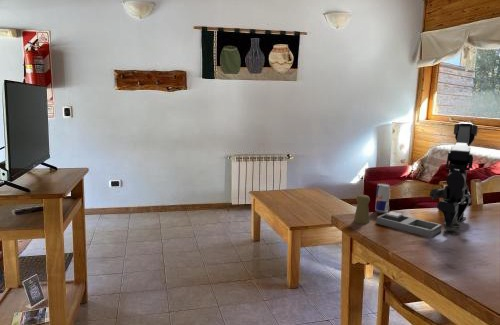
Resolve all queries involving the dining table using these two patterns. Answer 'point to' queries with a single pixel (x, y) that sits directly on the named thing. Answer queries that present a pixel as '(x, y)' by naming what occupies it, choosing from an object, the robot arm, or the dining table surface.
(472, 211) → the dining table surface
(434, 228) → the socket strip
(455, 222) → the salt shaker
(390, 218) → the plugged module
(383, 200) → the energy drink
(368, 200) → the olive pepper mill
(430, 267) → the dining table surface
